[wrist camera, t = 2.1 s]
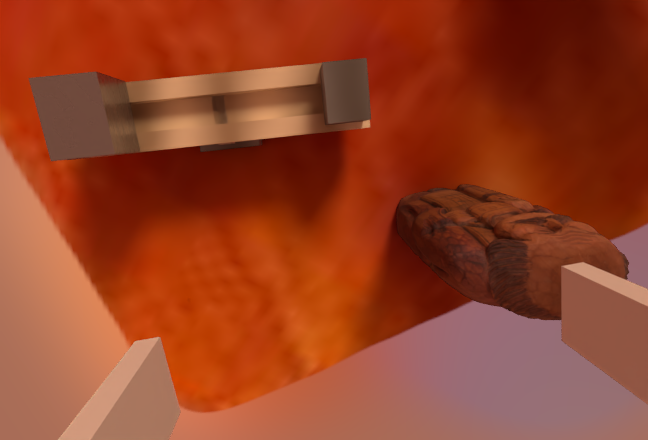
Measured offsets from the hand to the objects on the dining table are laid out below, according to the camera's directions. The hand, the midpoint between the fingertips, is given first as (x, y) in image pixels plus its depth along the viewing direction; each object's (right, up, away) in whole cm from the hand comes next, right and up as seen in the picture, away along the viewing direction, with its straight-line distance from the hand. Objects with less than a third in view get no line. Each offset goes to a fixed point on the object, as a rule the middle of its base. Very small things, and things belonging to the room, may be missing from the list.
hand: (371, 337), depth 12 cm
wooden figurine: (+11, +4, +26) cm, 28 cm away
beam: (-10, +13, +22) cm, 27 cm away
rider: (-18, +11, +16) cm, 26 cm away
